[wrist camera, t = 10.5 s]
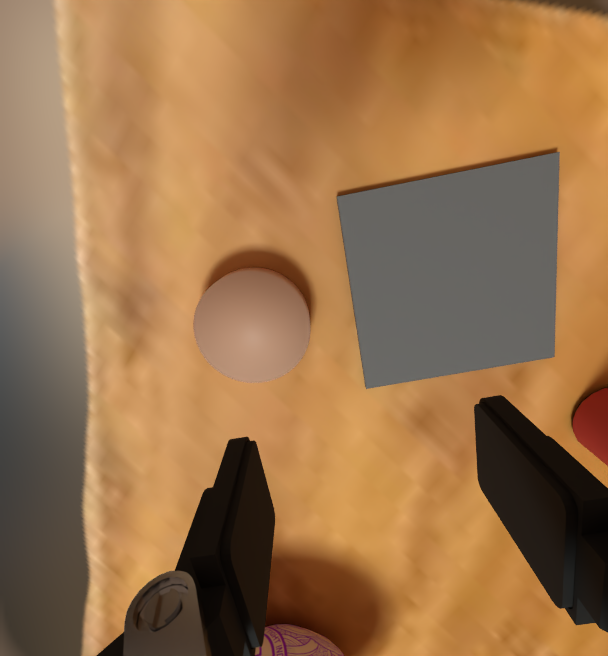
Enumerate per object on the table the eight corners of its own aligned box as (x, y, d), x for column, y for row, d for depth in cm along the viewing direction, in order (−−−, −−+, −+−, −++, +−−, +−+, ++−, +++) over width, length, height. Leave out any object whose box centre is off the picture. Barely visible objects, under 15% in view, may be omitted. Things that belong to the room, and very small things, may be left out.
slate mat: (554, 153, 26) (559, 152, 25) (550, 354, 31) (554, 357, 30) (336, 196, 27) (337, 196, 26) (365, 386, 32) (366, 388, 31)
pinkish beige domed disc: (293, 253, 28) (292, 257, 26) (321, 356, 31) (322, 368, 29) (187, 282, 29) (176, 288, 27) (222, 380, 32) (215, 393, 29)
